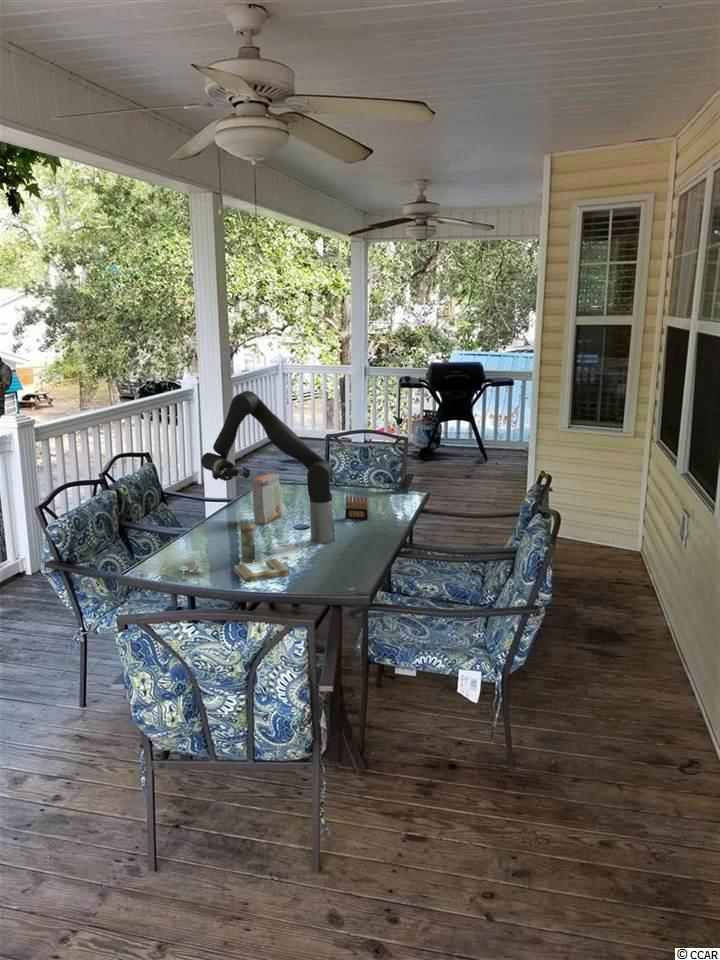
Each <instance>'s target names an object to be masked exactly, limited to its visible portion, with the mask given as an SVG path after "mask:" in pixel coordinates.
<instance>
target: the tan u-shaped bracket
mask: <svg viewBox="0 0 720 960" xmlns="http://www.w3.org/2000/svg"><path fill="white" fill-rule="evenodd" d="M265 565H266V567H267V568H268V569H269V570H264V571H259V572H253V571H252V569H249V567H248V566H247V564H244V563H241V564H238V565H237V564H236V565H233V571H234V570H235V571H236V572H235V571H234V572H235V574H236V575H237V574H238V575H239V576H240V577H241V578H242V579H243V580H244V581H245V582H244V581H243V580H242V579H241V578H240V577H239V576H238V575H237V576H238V577H239V578H240V579H241V580H242V581H243V582H244V583H245V584H247V583H246V582H249V583H252V582H251V581H254V582H258V581H257V580H260V581H264V580H265V581H266V580H271V579H275V578H280V577H287V576H290V569H289V568H287V567H286V566H285V565H284V563H281V562H280V561H279V560H278V559H277V558H272V559H267V560H265Z"/></svg>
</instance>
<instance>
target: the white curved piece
mask: <svg viewBox="0 0 720 960" xmlns="http://www.w3.org/2000/svg"><path fill="white" fill-rule="evenodd" d="M183 567H186V568H183ZM197 567H198V564H197V562H196V560H194V559H192V560H187V562H186V564H181V565H180V566H179V567H178V568H181V569H187V568H188V571H189V570H195V571H196V570H198V569H197Z"/></svg>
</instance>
